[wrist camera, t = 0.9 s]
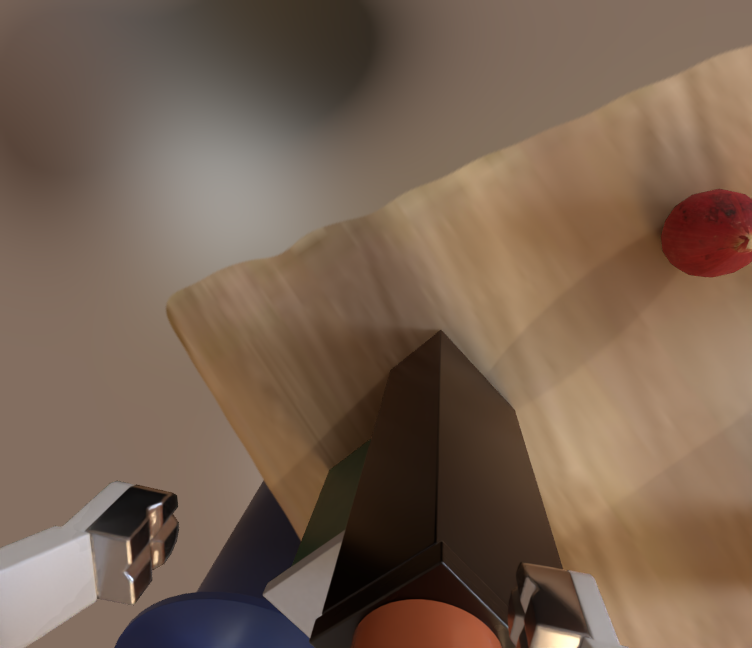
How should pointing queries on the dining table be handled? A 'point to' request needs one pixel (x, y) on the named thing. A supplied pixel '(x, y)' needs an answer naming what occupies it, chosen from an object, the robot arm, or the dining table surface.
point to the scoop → (422, 627)
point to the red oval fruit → (709, 233)
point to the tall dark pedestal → (438, 501)
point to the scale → (318, 547)
